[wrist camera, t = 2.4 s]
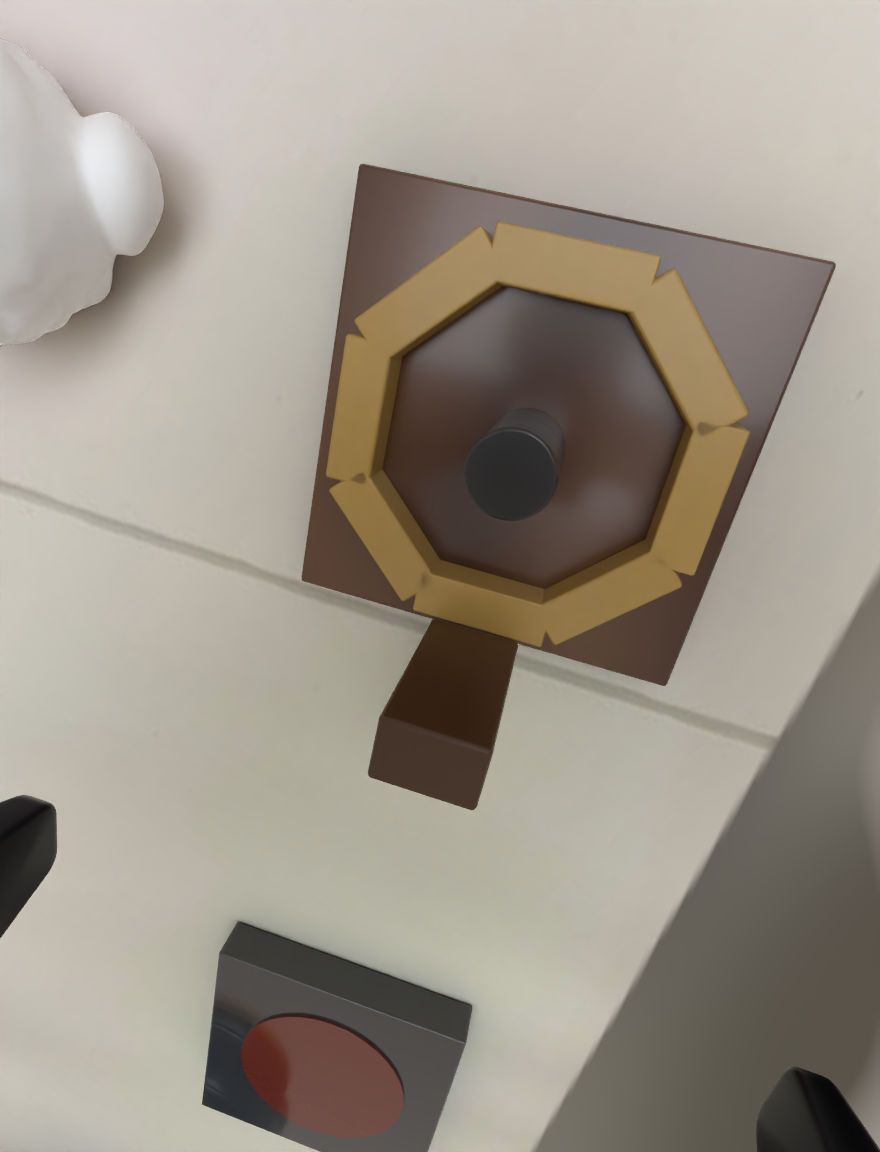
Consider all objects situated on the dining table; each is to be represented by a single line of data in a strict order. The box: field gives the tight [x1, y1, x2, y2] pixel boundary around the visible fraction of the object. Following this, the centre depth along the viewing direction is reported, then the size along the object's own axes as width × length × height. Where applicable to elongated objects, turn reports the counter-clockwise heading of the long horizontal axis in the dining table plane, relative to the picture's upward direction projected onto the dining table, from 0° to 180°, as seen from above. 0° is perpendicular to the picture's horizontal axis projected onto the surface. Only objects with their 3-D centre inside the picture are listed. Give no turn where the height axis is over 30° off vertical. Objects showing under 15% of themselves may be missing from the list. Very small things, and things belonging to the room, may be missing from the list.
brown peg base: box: [302, 164, 836, 686], centre depth 16 cm, size 11×11×4 cm
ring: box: [326, 221, 750, 810], centre depth 15 cm, size 10×11×6 cm
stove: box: [202, 922, 472, 1152], centre depth 28 cm, size 10×10×2 cm
